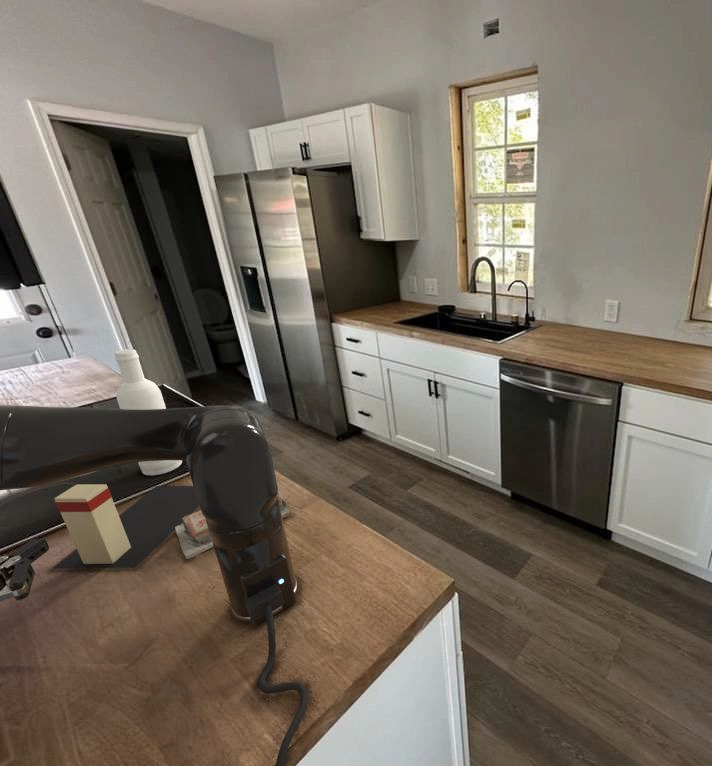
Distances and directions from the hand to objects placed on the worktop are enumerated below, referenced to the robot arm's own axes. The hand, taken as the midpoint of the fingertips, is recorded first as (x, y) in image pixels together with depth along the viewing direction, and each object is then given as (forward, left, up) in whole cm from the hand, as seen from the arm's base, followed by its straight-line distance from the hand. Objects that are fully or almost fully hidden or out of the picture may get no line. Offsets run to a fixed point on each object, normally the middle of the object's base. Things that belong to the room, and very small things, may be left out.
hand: (42, 543), depth 64 cm
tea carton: (+5, -6, -10) cm, 13 cm away
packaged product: (-1, -24, -11) cm, 26 cm away
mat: (+12, -12, -10) cm, 20 cm away
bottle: (+35, -18, -11) cm, 41 cm away
